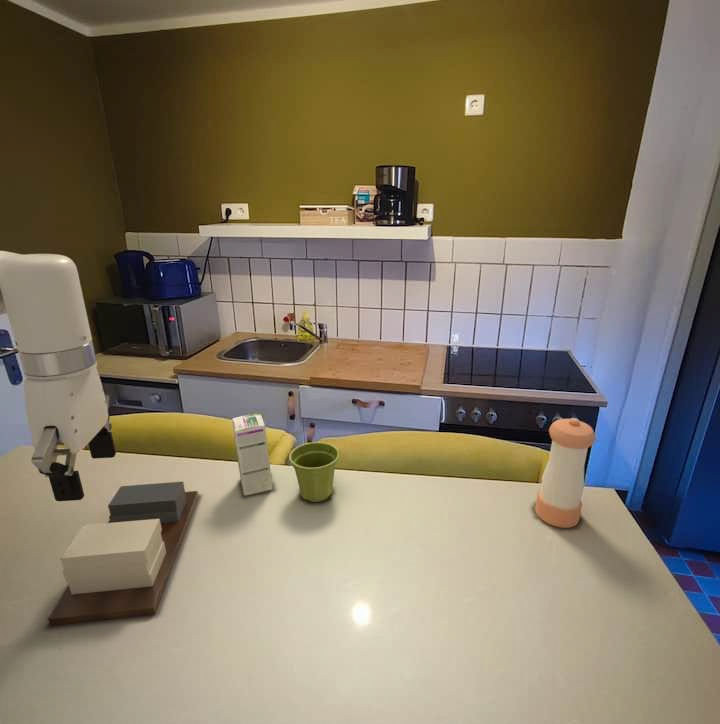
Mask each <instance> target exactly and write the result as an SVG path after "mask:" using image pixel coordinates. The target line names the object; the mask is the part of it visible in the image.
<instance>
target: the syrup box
mask: <svg viewBox="0 0 720 724" xmlns="http://www.w3.org/2000/svg"><path fill="white" fill-rule="evenodd" d="M231 421H232V428H233V429H232V430H233V437H234V445H235V450H236V457H237V465H238V472H239V478H240V484H241V488H242V489H241V490H242V494H243V496H250V495H255V494H260V493H264V492H269V491H272V490H273V481H272V480H273V479H272V472H271V462H270V454H269V447H268V439H267V429H266V425H265V422H264V420H263V416H262V414H261V413H252V414H245V415H240V416H236V417H232V418H231Z"/></svg>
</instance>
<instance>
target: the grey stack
mask: <svg viewBox="0 0 720 724" xmlns="http://www.w3.org/2000/svg"><path fill="white" fill-rule="evenodd" d="M185 492H186V489H185V483H184V481H171V482H170V481H169V482H157V483H145V484H133V485H121V486H119V488H118V490H117V491H116V493H115V494H114V496H113V497H112V499H111V500H110V502H109V504H108V505H107V507H108V511H109V517H108V518H109V520H110V522H111V523H115V522H127V521H138V520H150V519H160V523H172V522H179V519H180V517H181V514H182V512H183V509H184V507H185V504H186V497H185Z"/></svg>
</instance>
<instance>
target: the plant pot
mask: <svg viewBox="0 0 720 724" xmlns="http://www.w3.org/2000/svg"><path fill="white" fill-rule="evenodd" d="M339 458H340V451H339V449H338V448H337V447H336V446H335V445H333V444H331V443H327V442H322V441H312V442H306V443H302V444H300V445H298V446H296V447H294V448H293V449H292V450H291V451H290V453H289V455H288V459H289V462H290V463H291V464H292V467H293V469H294V472H295V476H296V480H297V484H298V488H299V492H300V496H301V498H302V499H304V500H308V501H309V502H311V503H317V502H322V501H325V500H327V499H328V498H329V497H330V495H332V494H333V485H334V477H335V471H336V470H335V469H336V465H337V461H338V460H339Z"/></svg>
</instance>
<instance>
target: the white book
mask: <svg viewBox="0 0 720 724" xmlns="http://www.w3.org/2000/svg"><path fill="white" fill-rule="evenodd" d="M161 531H162V528H161V523H160V519H150V520H138V521H127V522H115V523H108V522H106V523H105V522H104V523H103V522H102V523H93V524H83V525H82V527H81V528H80V529H79V531H78V532H77V534H76V535H75V537H74V538H73V540H72V541H71V542H70V544H69V545H68V547H67V548H66V550H65V551H64V552H63V554H62V556H60V562H61V565H62V568H63V570H75V569H86V568H96V567H106V566H117V565H127V564H137V563H147V562H148V560H149V558H150V556H151V554H152V551H153V549H154V547H155V544H156V542H157V540H158V538H159V535H160V533H161Z"/></svg>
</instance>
